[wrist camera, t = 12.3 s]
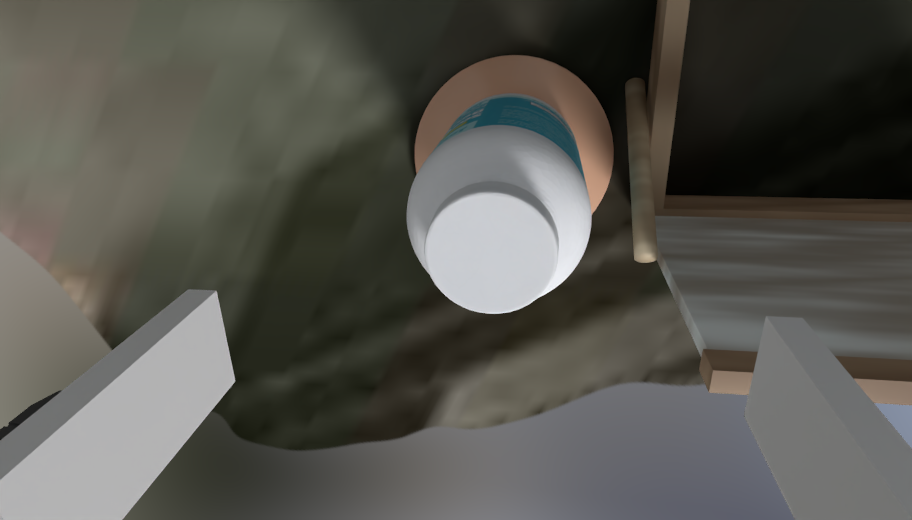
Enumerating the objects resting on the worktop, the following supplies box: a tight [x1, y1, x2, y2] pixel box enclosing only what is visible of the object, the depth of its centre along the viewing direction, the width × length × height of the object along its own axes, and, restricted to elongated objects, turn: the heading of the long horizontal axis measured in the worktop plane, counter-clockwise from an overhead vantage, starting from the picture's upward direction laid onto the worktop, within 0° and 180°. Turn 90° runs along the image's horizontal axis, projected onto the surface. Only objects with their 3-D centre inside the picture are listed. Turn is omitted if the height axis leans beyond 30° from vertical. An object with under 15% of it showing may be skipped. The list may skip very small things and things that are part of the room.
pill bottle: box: [407, 93, 591, 314], centre depth 26 cm, size 8×7×14 cm
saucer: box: [415, 55, 614, 215], centre depth 32 cm, size 11×11×1 cm
